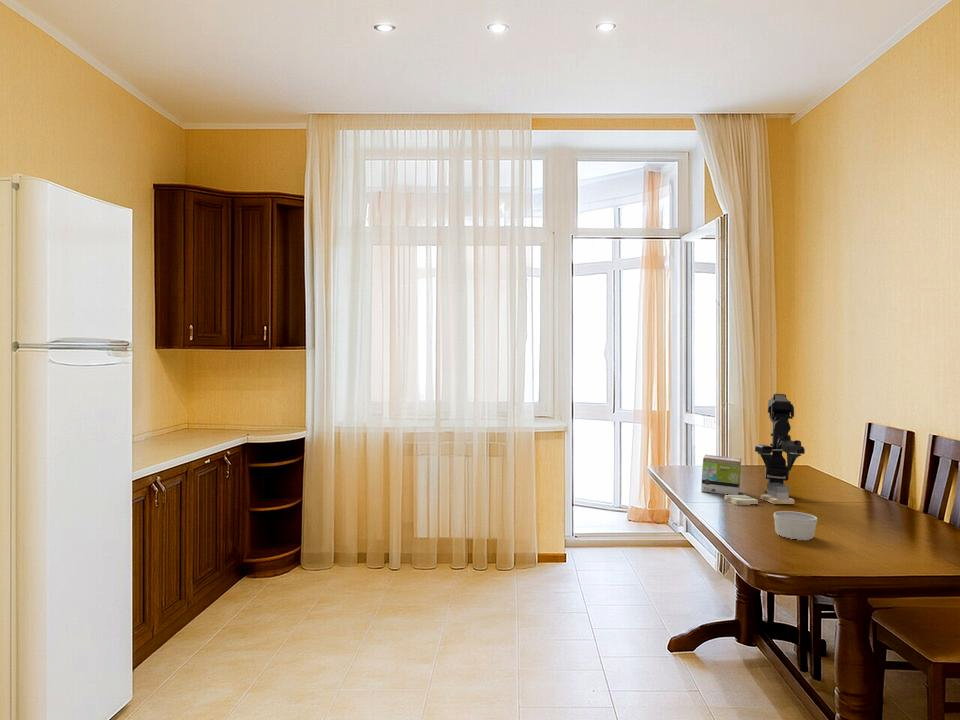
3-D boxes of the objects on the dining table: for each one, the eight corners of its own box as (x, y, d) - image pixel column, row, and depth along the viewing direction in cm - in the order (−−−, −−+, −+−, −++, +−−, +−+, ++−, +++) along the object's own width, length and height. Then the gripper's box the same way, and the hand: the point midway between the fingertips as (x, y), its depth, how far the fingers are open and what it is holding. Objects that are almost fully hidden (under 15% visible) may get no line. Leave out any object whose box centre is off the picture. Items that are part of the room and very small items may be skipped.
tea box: (700, 492, 302) (702, 457, 301) (702, 488, 311) (704, 454, 310) (738, 496, 296) (740, 460, 295) (739, 491, 305) (741, 457, 305)
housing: (766, 495, 290) (767, 482, 290) (777, 495, 291) (778, 482, 291) (777, 499, 283) (777, 486, 283) (788, 499, 284) (789, 486, 284)
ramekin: (766, 530, 243) (767, 509, 243) (806, 531, 243) (807, 511, 243) (781, 541, 230) (782, 519, 230) (823, 543, 230) (824, 521, 229)
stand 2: (760, 499, 291) (760, 494, 291) (780, 499, 293) (780, 494, 293) (773, 504, 282) (774, 499, 282) (794, 504, 284) (794, 499, 284)
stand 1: (724, 499, 288) (724, 495, 288) (744, 499, 290) (745, 494, 290) (736, 505, 279) (736, 500, 279) (757, 505, 281) (757, 499, 281)
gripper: (771, 434, 277) (769, 474, 277) (814, 434, 280) (812, 474, 281) (755, 430, 288) (753, 469, 288) (796, 431, 291) (794, 469, 292)
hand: (778, 470), depth 287 cm, fingers open, 9 cm apart
